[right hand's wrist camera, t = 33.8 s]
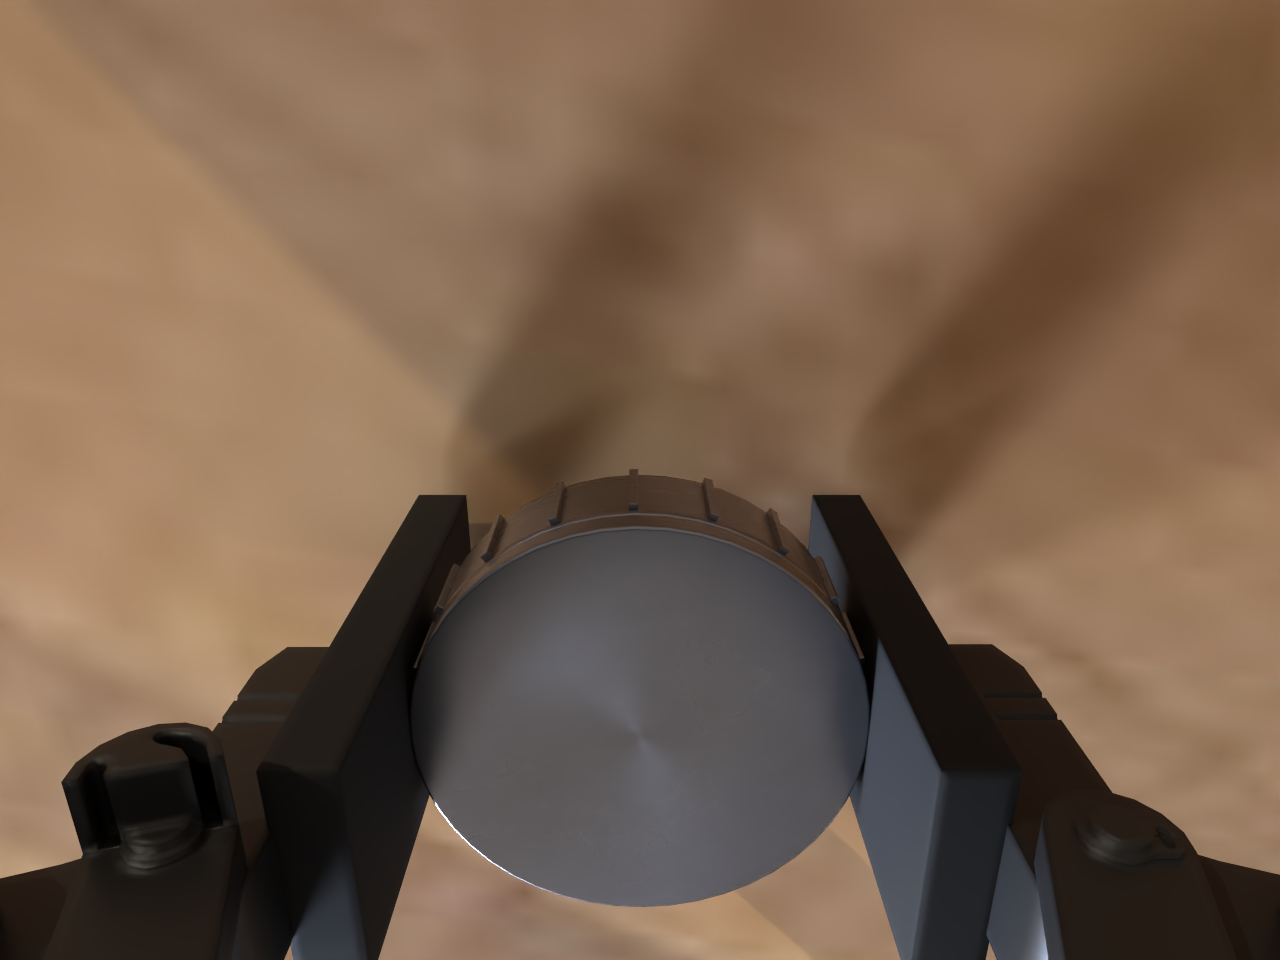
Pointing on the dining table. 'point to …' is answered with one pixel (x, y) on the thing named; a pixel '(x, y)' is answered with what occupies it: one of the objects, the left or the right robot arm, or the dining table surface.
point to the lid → (639, 693)
